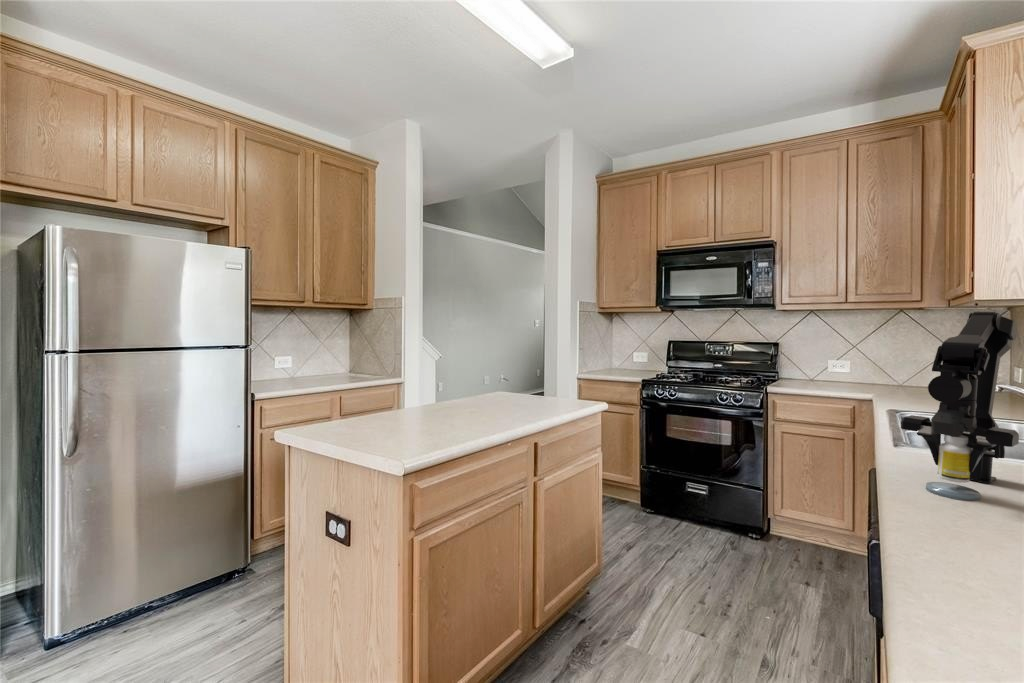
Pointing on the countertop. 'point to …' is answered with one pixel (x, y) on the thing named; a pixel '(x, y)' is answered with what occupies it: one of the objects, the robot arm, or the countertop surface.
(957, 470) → the supplement bottle
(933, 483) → the dish
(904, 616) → the countertop surface
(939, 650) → the countertop surface
